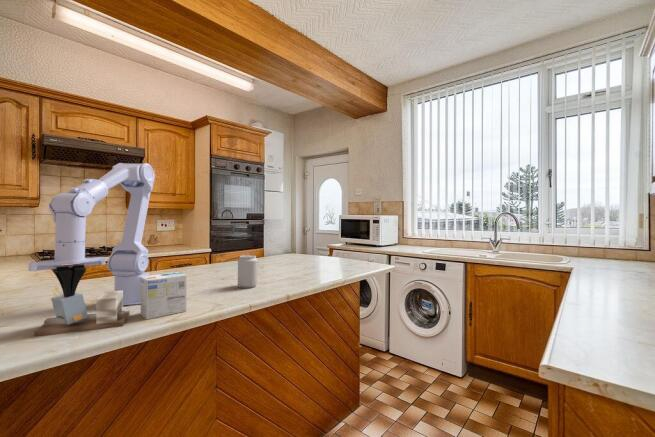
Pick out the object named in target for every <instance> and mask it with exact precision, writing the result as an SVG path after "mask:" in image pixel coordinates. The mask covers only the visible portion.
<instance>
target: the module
mask: <svg viewBox="0 0 655 437" xmlns="http://www.w3.org/2000/svg"><path fill="white" fill-rule="evenodd" d="M50 299H51V300H50V301H51V302H52V307H53V310H54V315H55V318H56V317H64V319H65V323H66V324H67V325H68V324H71V323H74V322H77V321H79V320H82V319H85V318H88V316H87V314H88V312H87V309H86V308H87V307H86V304H85V300H84V299H85V298H84V296H83V293H78V292H75V295H74V296H70V297H64V294H63V293H62V294H60V295H59V294H58V295H56V296H53V297H51V298H50Z"/></svg>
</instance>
